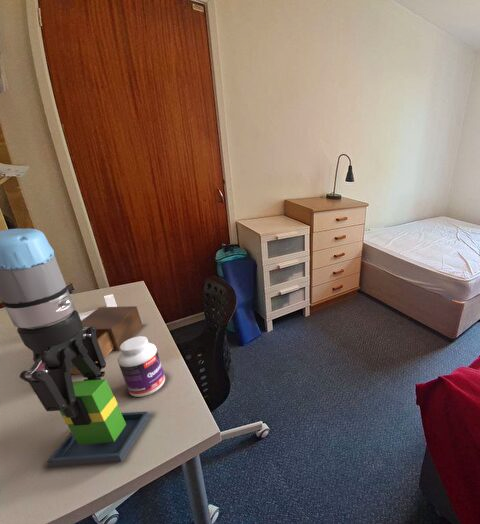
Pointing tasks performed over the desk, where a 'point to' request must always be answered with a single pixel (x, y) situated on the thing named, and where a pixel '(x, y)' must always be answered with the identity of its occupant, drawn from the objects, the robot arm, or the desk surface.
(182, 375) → the desk surface
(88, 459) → the tray
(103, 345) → the drawer
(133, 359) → the pill bottle
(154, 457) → the desk surface
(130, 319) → the cabinet
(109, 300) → the bracket
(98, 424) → the yellow-banded green block
